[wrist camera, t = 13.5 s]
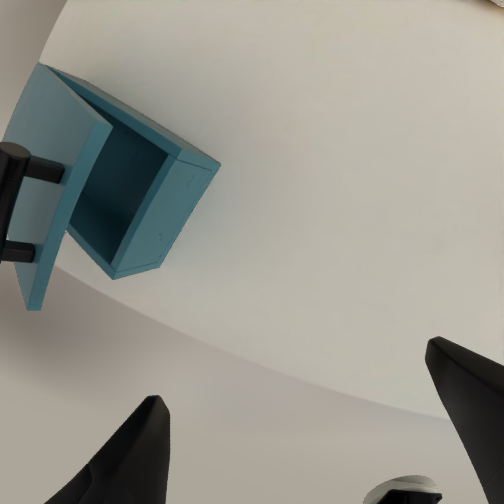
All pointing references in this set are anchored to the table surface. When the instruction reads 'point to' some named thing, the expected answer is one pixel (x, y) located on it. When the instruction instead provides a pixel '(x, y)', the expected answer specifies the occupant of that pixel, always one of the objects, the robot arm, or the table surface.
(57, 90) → the lid
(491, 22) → the table surface
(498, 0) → the cup
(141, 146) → the teal rectangular box
